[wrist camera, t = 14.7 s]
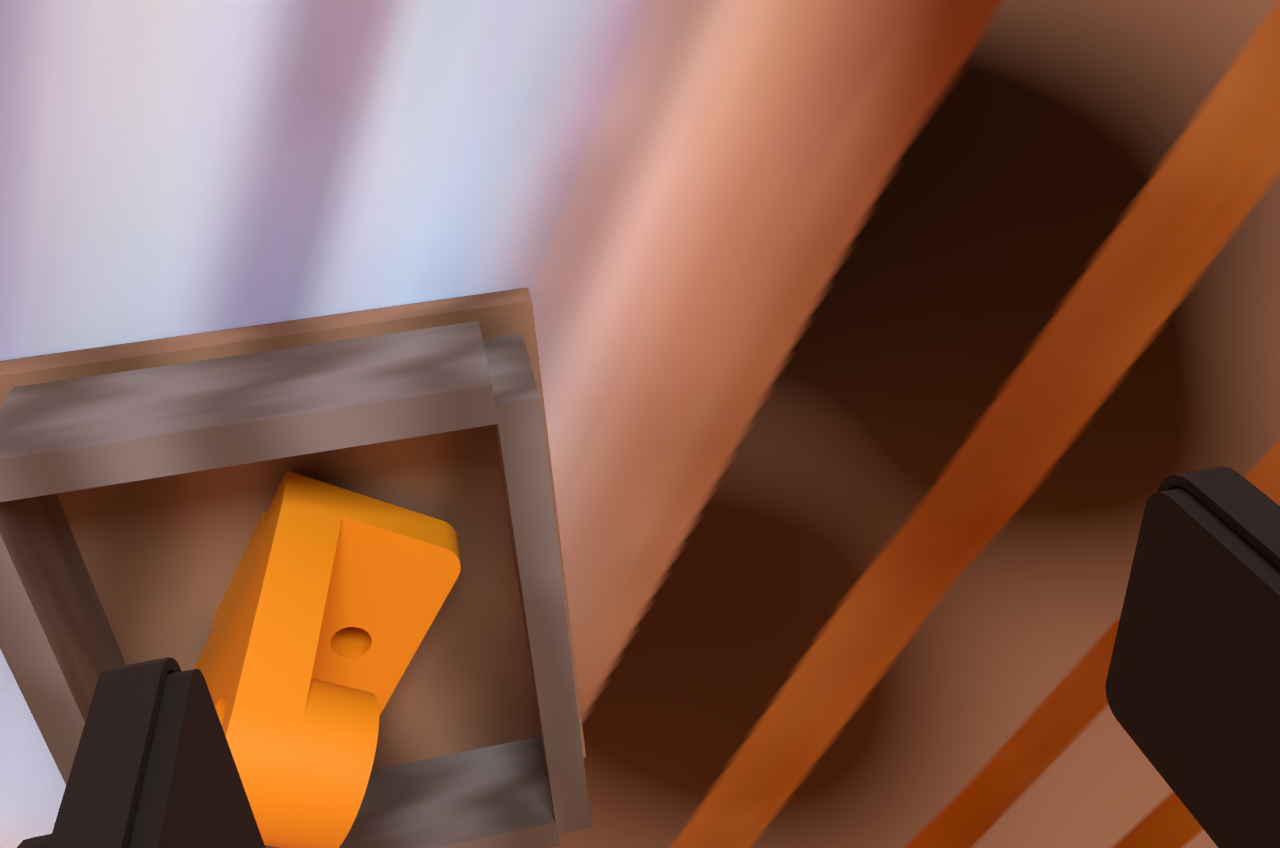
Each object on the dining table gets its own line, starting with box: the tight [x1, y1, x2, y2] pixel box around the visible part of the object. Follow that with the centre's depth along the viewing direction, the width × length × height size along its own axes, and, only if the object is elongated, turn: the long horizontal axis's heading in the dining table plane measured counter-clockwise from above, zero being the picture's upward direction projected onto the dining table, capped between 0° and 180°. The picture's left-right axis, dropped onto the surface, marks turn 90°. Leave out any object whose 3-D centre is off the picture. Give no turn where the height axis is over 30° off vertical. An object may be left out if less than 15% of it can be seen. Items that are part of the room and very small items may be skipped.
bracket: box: [194, 471, 461, 848], centre depth 40 cm, size 11×7×12 cm, turn 150°
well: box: [0, 288, 591, 848], centre depth 43 cm, size 20×24×6 cm
